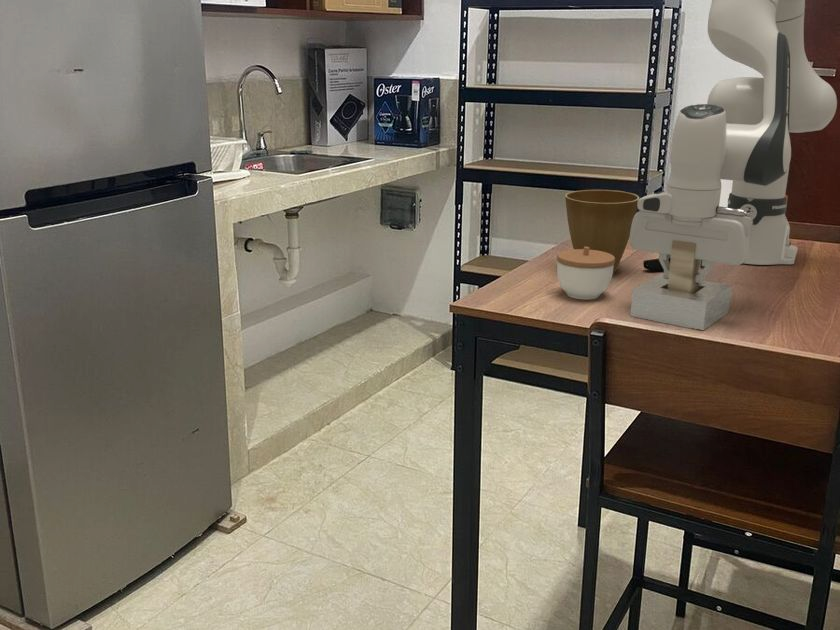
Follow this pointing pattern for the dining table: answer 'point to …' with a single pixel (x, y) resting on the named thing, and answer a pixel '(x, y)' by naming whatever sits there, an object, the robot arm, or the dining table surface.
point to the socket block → (681, 303)
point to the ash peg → (683, 267)
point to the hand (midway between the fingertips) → (683, 281)
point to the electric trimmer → (656, 264)
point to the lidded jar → (584, 272)
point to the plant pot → (601, 220)
